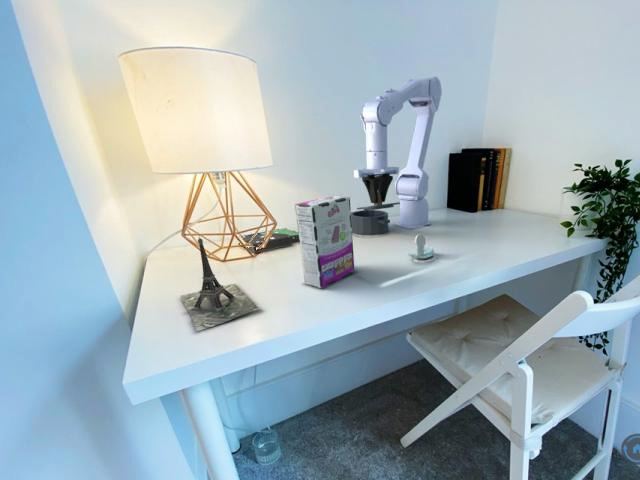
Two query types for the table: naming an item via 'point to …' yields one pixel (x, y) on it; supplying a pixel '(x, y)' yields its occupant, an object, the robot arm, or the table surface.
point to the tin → (369, 222)
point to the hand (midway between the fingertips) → (377, 202)
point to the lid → (378, 204)
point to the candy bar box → (325, 239)
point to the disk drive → (272, 239)
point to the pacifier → (422, 250)
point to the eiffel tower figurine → (215, 299)
